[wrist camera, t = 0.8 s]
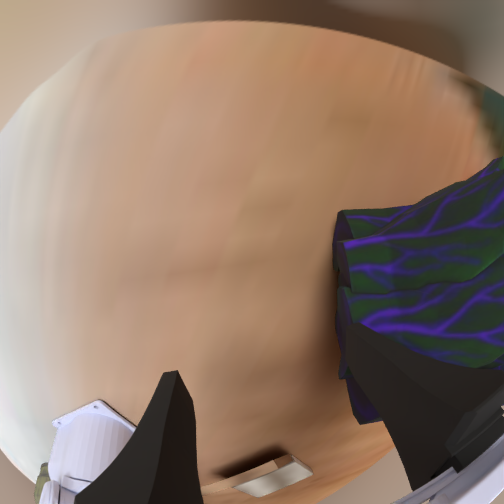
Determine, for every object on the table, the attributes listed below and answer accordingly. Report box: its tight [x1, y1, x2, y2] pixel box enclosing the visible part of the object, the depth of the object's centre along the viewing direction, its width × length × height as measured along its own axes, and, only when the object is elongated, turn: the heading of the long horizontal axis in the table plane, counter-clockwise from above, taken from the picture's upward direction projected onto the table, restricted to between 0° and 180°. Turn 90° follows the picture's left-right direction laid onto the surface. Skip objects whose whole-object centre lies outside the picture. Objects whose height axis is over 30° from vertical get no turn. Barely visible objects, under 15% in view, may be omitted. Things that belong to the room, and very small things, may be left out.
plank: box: [200, 454, 293, 496], centre depth 27 cm, size 10×8×1 cm
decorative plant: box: [332, 156, 504, 425], centre depth 17 cm, size 21×26×30 cm
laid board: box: [232, 455, 314, 498], centre depth 32 cm, size 10×8×1 cm
